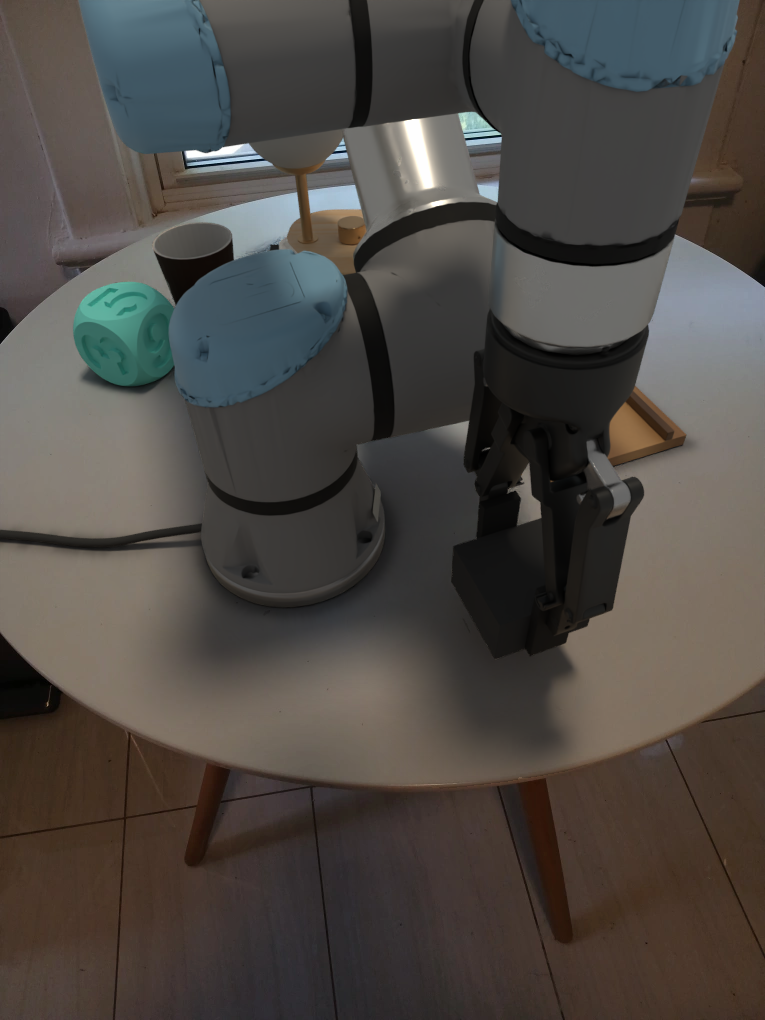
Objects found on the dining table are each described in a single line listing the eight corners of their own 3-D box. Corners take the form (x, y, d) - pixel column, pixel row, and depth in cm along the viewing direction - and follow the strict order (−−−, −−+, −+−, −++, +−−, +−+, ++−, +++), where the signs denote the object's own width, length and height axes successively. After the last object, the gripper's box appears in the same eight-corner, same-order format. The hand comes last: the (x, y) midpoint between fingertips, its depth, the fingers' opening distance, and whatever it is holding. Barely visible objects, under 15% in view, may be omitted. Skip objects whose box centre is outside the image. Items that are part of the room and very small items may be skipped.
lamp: (515, 236, 98) (537, 14, 80) (522, 303, 86) (550, 61, 68) (274, 235, 101) (242, 21, 83) (248, 301, 89) (205, 67, 71)
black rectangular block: (494, 660, 48) (500, 625, 45) (450, 581, 53) (452, 545, 50) (587, 626, 50) (598, 591, 47) (537, 553, 54) (544, 516, 51)
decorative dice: (131, 339, 84) (110, 275, 78) (190, 352, 82) (172, 288, 76) (87, 378, 79) (61, 313, 73) (148, 394, 77) (126, 327, 71)
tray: (551, 485, 65) (555, 467, 64) (457, 365, 78) (458, 347, 77) (683, 444, 68) (690, 426, 67) (571, 335, 81) (574, 318, 80)
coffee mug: (233, 344, 83) (215, 261, 75) (162, 338, 84) (138, 256, 77) (265, 292, 90) (251, 212, 83) (199, 287, 92) (181, 208, 85)
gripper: (785, 418, 28) (648, 704, 45) (535, 208, 41) (500, 492, 58) (620, 469, 27) (540, 746, 44) (412, 234, 40) (413, 518, 56)
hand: (517, 600), depth 51 cm, fingers closed on black rectangular block, 7 cm apart
